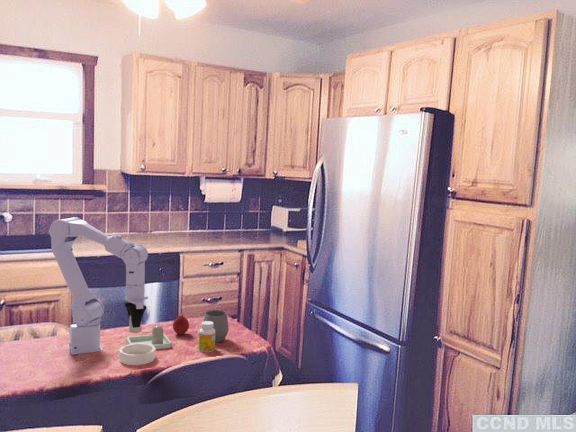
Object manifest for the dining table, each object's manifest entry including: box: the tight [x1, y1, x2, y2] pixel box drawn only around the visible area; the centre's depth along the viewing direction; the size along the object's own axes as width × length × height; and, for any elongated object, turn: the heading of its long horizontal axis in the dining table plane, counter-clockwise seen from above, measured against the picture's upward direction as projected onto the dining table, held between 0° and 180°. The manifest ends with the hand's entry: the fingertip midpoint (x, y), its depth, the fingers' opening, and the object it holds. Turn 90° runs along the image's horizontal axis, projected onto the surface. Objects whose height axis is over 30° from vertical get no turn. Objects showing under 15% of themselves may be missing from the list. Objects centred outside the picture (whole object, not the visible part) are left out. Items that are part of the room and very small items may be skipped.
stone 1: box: [128, 315, 143, 334], centre depth 174 cm, size 4×4×6 cm
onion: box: [172, 313, 190, 336], centre depth 196 cm, size 6×6×8 cm
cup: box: [202, 309, 230, 343], centre depth 192 cm, size 10×9×10 cm
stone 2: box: [151, 324, 164, 345], centre depth 185 cm, size 4×4×6 cm
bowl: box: [118, 343, 157, 366], centre depth 171 cm, size 11×11×4 cm
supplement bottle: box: [198, 320, 216, 353], centre depth 182 cm, size 5×5×10 cm
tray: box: [125, 332, 173, 350], centre depth 184 cm, size 13×11×2 cm
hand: (134, 325), depth 174 cm, fingers closed on stone 1, 4 cm apart
